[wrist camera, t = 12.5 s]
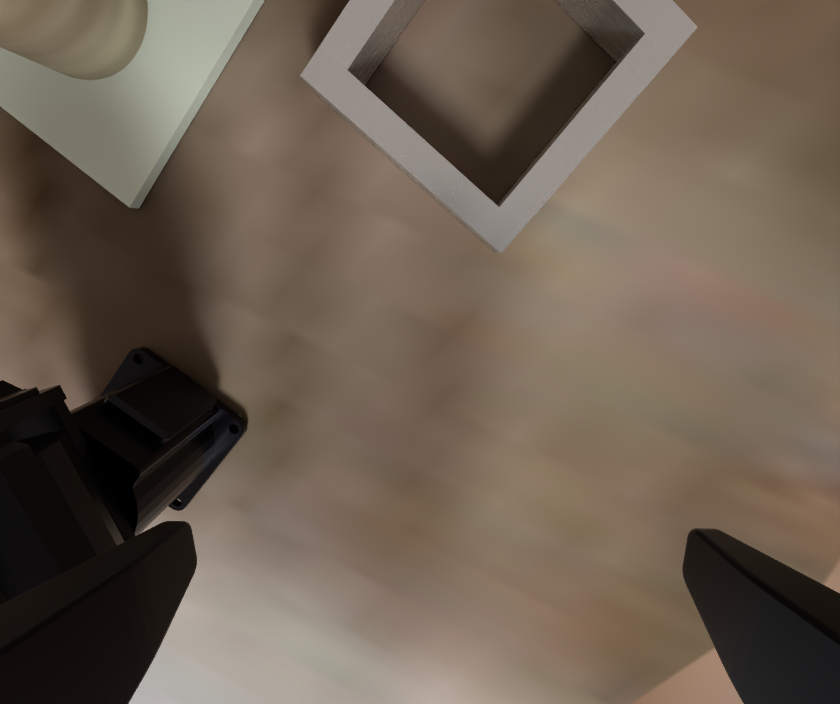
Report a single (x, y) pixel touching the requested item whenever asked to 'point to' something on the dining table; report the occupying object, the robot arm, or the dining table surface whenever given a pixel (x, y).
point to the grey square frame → (499, 224)
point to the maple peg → (75, 34)
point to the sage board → (131, 94)
